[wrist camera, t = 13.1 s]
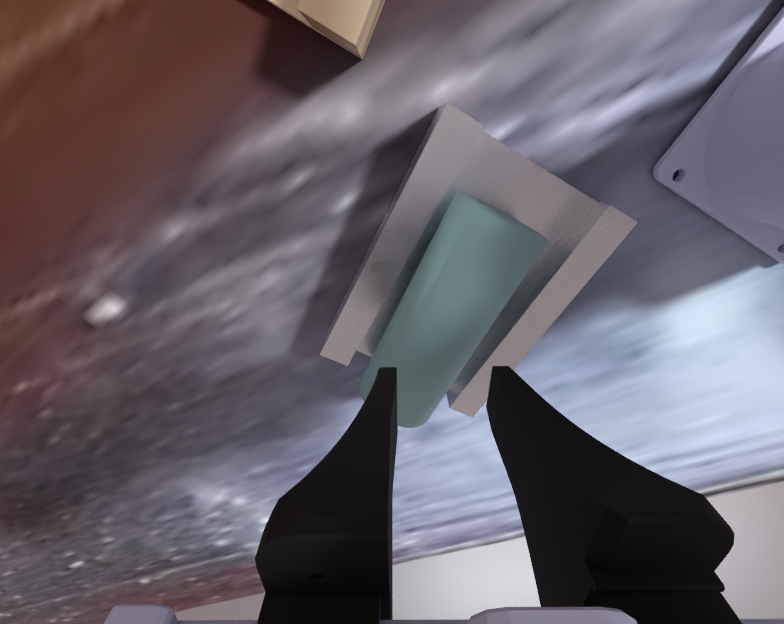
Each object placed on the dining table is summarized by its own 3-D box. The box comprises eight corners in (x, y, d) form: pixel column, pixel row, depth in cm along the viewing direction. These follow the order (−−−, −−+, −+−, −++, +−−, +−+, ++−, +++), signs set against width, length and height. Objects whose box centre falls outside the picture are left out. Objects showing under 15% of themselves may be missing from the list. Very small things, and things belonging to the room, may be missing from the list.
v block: (603, 208, 16) (638, 222, 14) (464, 386, 21) (472, 417, 19) (438, 106, 14) (447, 103, 12) (328, 328, 19) (319, 354, 17)
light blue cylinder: (443, 190, 12) (547, 246, 11) (468, 194, 16) (549, 237, 15) (344, 390, 17) (414, 442, 16) (381, 359, 20) (440, 400, 19)
